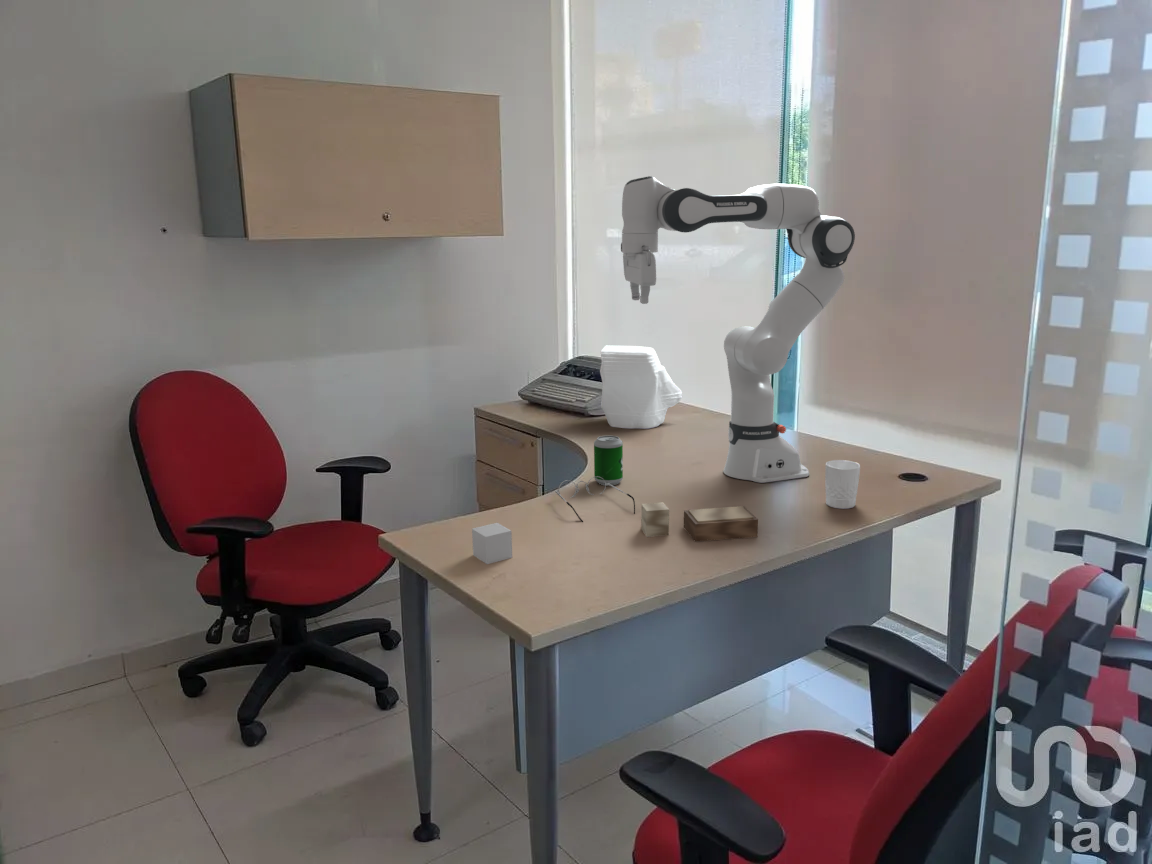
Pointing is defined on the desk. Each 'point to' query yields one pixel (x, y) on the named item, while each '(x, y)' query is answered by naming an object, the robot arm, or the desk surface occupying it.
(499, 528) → the grey cube
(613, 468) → the soda can
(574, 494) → the eyeglasses
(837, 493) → the white cup
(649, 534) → the block
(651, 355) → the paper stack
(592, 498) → the desk surface
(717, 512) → the plinth
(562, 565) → the desk surface
